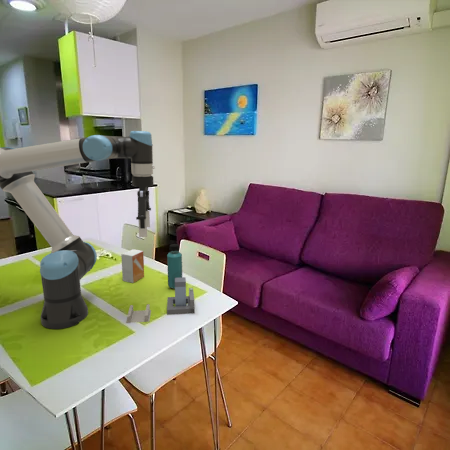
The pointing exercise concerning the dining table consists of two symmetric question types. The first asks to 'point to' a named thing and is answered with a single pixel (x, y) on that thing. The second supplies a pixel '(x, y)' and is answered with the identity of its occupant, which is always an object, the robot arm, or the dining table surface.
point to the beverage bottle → (174, 265)
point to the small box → (132, 265)
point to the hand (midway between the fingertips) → (144, 231)
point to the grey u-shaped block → (138, 315)
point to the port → (181, 309)
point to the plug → (180, 291)
